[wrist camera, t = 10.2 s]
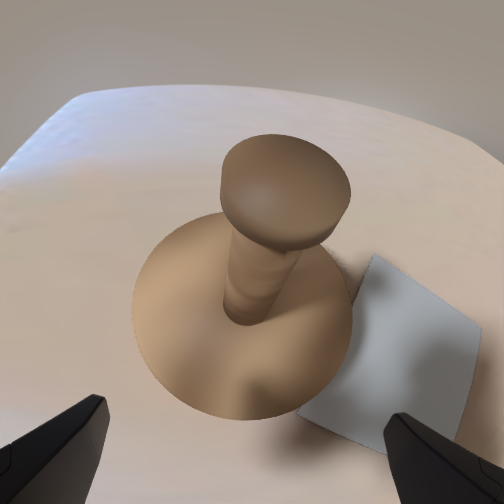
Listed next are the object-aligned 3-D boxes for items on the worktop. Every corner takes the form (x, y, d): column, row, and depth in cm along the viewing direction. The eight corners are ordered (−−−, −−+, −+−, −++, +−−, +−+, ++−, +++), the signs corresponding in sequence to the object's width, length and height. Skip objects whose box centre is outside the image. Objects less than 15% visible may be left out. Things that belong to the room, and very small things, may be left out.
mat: (479, 329, 24) (481, 328, 23) (437, 472, 16) (440, 472, 15) (372, 255, 26) (374, 253, 26) (296, 413, 18) (297, 413, 18)
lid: (363, 268, 20) (457, 156, 10) (302, 450, 13) (438, 490, 4) (200, 196, 21) (204, 52, 12) (98, 351, 15) (-25, 260, 5)
